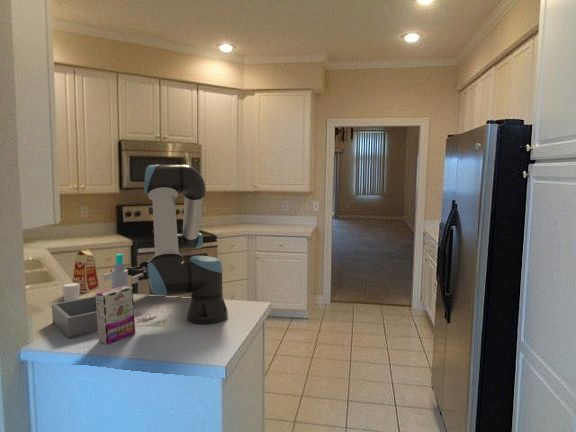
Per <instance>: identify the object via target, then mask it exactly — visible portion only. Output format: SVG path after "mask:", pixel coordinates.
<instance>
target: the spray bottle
mask: <svg viewBox="0 0 576 432" xmlns="http://www.w3.org/2000/svg"><path fill="white" fill-rule="evenodd" d="M123 256H124V255H123V253H117V254H115V263H114V268H113V269H111V270H112V279H111V289H114V288H118V287H121V286H128V287H129V275H128V270H127V269H125V268H126V264H125V262H124V257H123Z"/></svg>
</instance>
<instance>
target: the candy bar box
mask: <svg viewBox="0 0 576 432" xmlns="http://www.w3.org/2000/svg"><path fill="white" fill-rule="evenodd" d="M95 296H96V310H97V324H98V332H97V335H98V336H97V337H98V342H99V343H101V344H104V345H110V344H113V343H115V342H118V341H120V340H122V339H125V338H128V337H130V336H132V335H135V334H136V325H135V324H136V323H135V305H134V288H133V287H132V286H129V285H128V286H121V287H118V288H114V289H112V288H110V289H107V290H104V291H101V292H98V293H95Z"/></svg>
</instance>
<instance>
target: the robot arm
mask: <svg viewBox="0 0 576 432" xmlns="http://www.w3.org/2000/svg"><path fill="white" fill-rule="evenodd" d="M143 186H144V187H143V188H144V189H143V190H144V191H143V192H144V194H146V195H147V196H148V199H149V200H151V201H152V219H153V235H154V240H153V243H154V255H153V256H152V257H151V258H149V259H147V260H144V261H142V262H140V264H139V266H136V267H134V266H128V267H125V269H127V270H128V276H130V277H131V280H130V281H131V285H133V284H137V283H139V282H142V281H147V280H148V282H149V286H150V290H151V292H152V294H153V295H155V296H167V295H175V294H176V295H178V294H186V293H187V294H188V293H191V294H190V297H191V298H190V302H189V306H188V309H187V312H186V320H187V321H188V322H189V323H192V324H197V325H210V324H211V325H212V324H216V323H220V322H223V321H225V320H226V319H227V318H228V316H229V315H228V308H227V306H226V302H225V300H224V297H223V294H224V292H223V272H224V271H223V264H222V261H221V260H220V259H219V258H217V257H214V256H207V255H193V256H191V257H190V259H189V260H184V256H183V255H182V254H181V253H180V252H179V251H181V250H196V249H201V248H202V247H203V246H204V242H203V240H204V238H203V234H202V233H201V232H200V229H201V228H200V226H201V217H202V216H201V215H202V208H203V207H202V206H203V198H204V197H205V196H206V189H207V188H206V182H205V180H204V178H203V176H202V175H201V173H200V172H199V171H198V170H197V169H195V168H194V167H192V166H191V165H187V164H158V163H157V164H150V165H148V166H147V167H146V169H145V175H144V185H143ZM179 194H182V195H183V196H184V203H183V204H184V206H183V218H182V219H183V223H182V233H178V225H177V224H178V223H177V212H176V211H177V210H176V199H177V198H178V197H179ZM112 270H113V269H110V272H107V273H104V274H103V281H104V282H107V281H110V280H112Z"/></svg>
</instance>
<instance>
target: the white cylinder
mask: <svg viewBox="0 0 576 432" xmlns="http://www.w3.org/2000/svg"><path fill="white" fill-rule="evenodd" d="M61 288H62V295H63V300H64V301H63V302H66V301H71V300H77V299H80V292H79V291H80V284H79V283H72V282H70V283H64V284H63V285H61Z"/></svg>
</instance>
